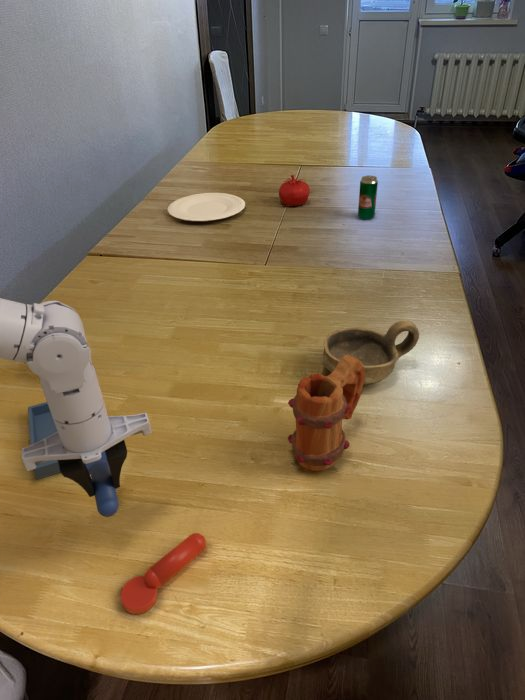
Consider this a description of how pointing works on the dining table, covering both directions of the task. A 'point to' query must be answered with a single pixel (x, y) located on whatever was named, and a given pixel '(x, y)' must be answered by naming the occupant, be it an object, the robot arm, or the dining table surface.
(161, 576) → the red spoon
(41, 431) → the tray
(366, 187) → the soda can
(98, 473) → the blue spoon
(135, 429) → the robot arm
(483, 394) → the dining table surface
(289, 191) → the pomegranate
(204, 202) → the plate
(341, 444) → the mug
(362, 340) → the bowl
